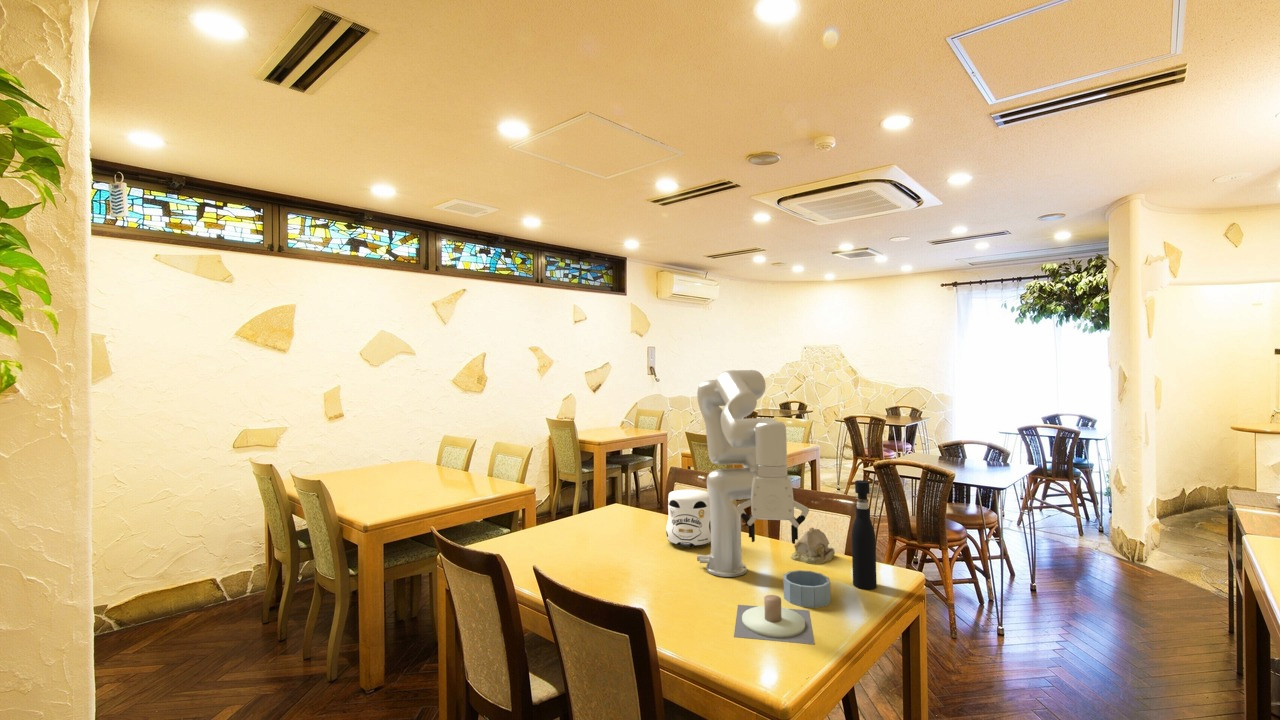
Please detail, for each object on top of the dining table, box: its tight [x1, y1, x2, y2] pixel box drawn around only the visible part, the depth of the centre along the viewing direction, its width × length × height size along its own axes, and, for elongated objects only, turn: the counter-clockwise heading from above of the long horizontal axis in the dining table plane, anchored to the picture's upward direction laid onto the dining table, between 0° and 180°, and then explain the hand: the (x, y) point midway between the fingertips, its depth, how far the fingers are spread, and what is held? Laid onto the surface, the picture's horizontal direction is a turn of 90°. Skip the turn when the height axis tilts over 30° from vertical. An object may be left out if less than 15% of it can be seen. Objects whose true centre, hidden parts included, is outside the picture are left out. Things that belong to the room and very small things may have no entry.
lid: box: [742, 594, 805, 638], centre depth 134 cm, size 15×15×6 cm
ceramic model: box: [790, 527, 835, 565], centre depth 183 cm, size 14×11×10 cm
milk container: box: [665, 489, 711, 548], centre depth 200 cm, size 17×17×18 cm
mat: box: [733, 604, 816, 645], centre depth 134 cm, size 18×18×1 cm
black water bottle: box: [851, 479, 878, 591], centre depth 159 cm, size 6×6×30 cm
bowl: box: [783, 569, 832, 609], centre depth 149 cm, size 12×12×6 cm
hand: (773, 541), depth 135 cm, fingers open, 9 cm apart
